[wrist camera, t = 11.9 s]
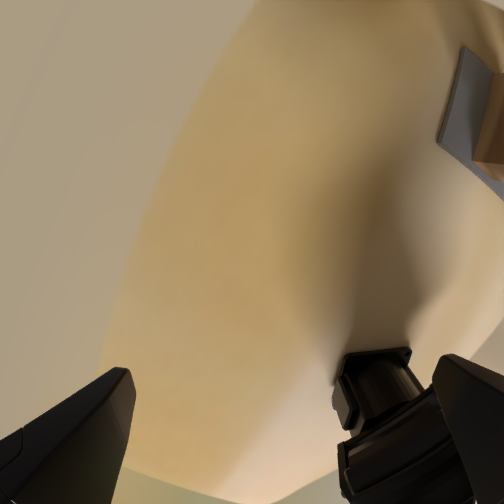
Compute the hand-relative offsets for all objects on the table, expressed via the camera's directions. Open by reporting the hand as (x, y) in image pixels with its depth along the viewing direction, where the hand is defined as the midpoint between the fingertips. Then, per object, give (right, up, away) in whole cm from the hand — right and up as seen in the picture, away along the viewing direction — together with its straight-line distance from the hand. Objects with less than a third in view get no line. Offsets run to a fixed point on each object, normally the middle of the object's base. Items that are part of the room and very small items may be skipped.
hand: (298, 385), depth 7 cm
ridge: (+19, +14, +10) cm, 26 cm away
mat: (+19, +14, +10) cm, 26 cm away
